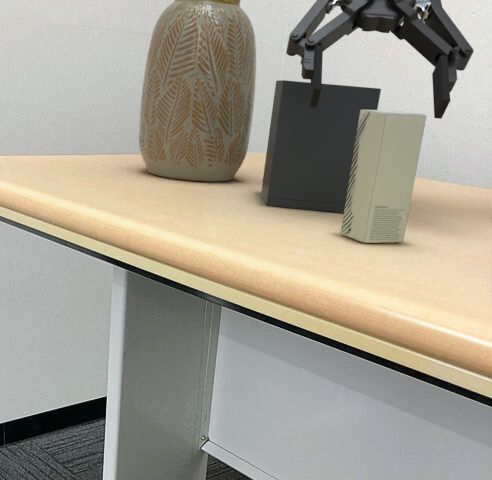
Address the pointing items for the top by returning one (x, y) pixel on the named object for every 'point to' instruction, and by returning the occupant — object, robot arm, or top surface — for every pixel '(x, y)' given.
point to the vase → (198, 91)
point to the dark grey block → (313, 145)
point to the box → (382, 175)
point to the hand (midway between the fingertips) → (378, 104)
